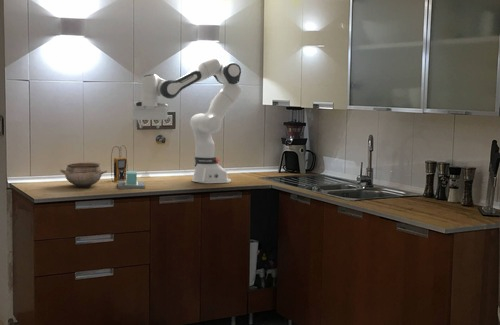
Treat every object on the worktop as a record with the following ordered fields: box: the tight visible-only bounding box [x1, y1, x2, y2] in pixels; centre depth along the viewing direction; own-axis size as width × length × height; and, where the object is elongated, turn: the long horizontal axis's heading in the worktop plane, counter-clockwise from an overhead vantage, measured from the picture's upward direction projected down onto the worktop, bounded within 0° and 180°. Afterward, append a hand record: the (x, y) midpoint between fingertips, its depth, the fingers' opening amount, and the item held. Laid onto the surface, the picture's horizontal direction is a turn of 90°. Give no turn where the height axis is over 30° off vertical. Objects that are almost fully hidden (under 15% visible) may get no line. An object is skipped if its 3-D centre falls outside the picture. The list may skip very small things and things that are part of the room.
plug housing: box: [126, 170, 138, 185], centre depth 368 cm, size 5×11×6 cm, turn 11°
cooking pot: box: [59, 161, 108, 189], centre depth 361 cm, size 25×19×12 cm
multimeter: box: [110, 145, 129, 183], centre depth 384 cm, size 15×10×20 cm
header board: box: [117, 180, 146, 190], centre depth 368 cm, size 14×18×6 cm
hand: (149, 128), depth 380 cm, fingers open, 8 cm apart
